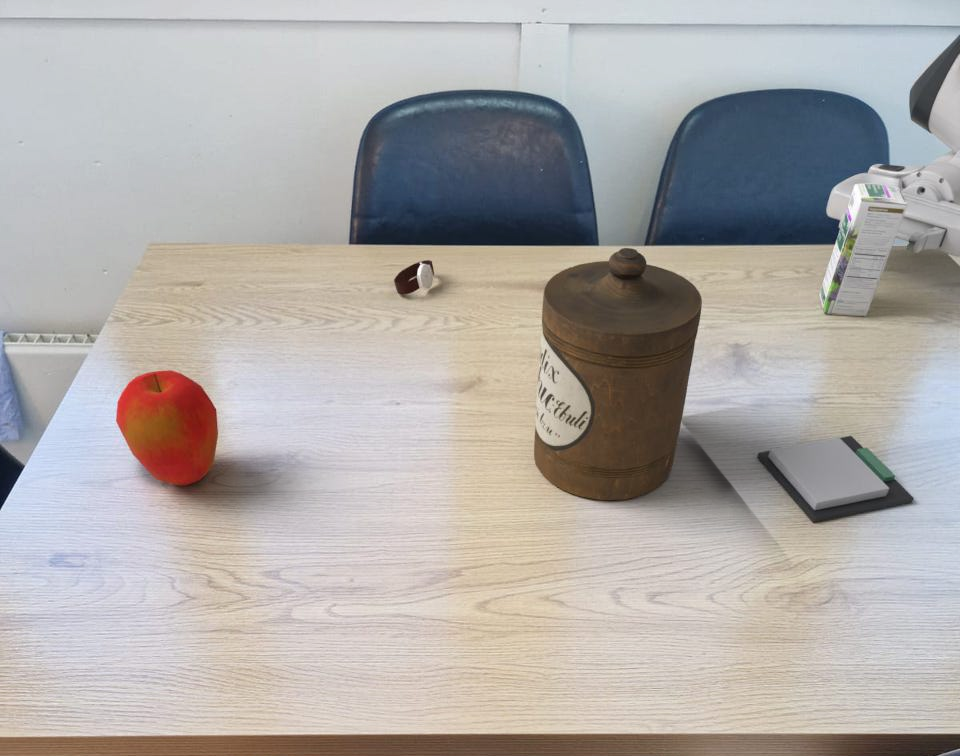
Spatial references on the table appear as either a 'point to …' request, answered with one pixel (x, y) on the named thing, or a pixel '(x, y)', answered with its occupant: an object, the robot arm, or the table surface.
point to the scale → (834, 478)
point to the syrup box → (862, 249)
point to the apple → (169, 426)
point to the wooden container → (613, 375)
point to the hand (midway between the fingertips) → (878, 234)
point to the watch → (421, 280)
